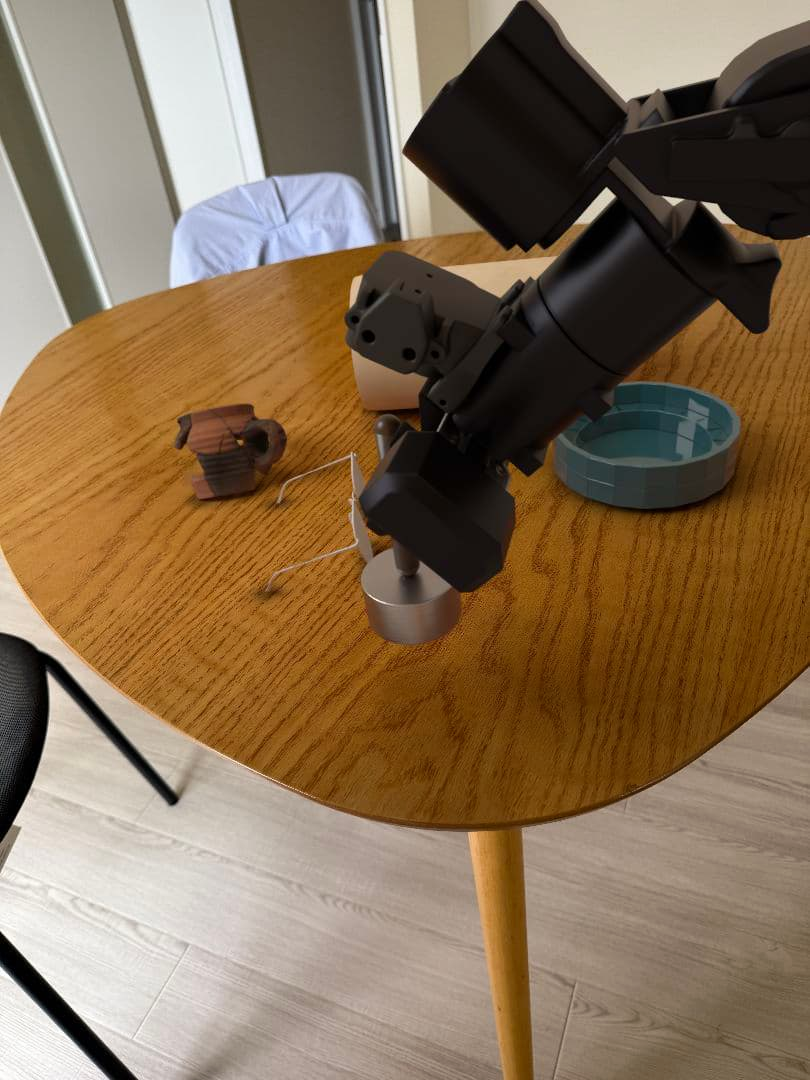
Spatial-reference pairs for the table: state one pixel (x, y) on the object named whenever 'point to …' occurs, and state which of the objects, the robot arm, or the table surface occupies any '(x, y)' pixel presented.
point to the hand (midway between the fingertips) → (377, 520)
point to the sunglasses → (354, 516)
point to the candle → (402, 391)
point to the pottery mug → (230, 447)
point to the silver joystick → (405, 583)
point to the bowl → (651, 447)
